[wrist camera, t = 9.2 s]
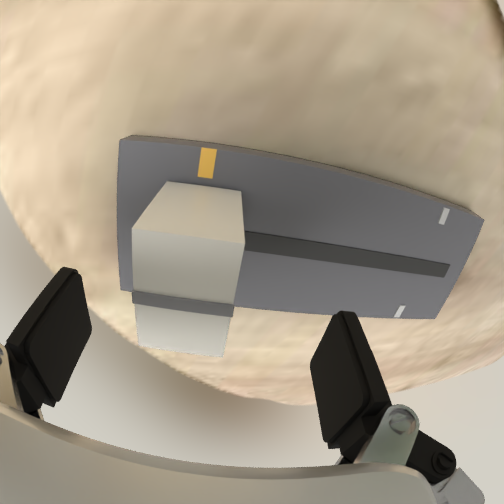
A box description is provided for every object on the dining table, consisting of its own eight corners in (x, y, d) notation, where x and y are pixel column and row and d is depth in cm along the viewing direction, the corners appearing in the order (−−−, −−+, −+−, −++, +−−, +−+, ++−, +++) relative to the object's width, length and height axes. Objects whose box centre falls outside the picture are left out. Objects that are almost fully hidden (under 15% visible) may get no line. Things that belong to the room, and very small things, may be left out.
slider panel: (470, 210, 19) (485, 220, 17) (425, 305, 24) (435, 319, 22) (131, 135, 15) (118, 140, 13) (128, 274, 20) (120, 291, 18)
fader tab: (241, 191, 15) (246, 245, 10) (225, 283, 18) (224, 359, 13) (166, 181, 15) (129, 229, 9) (161, 274, 18) (137, 346, 12)
